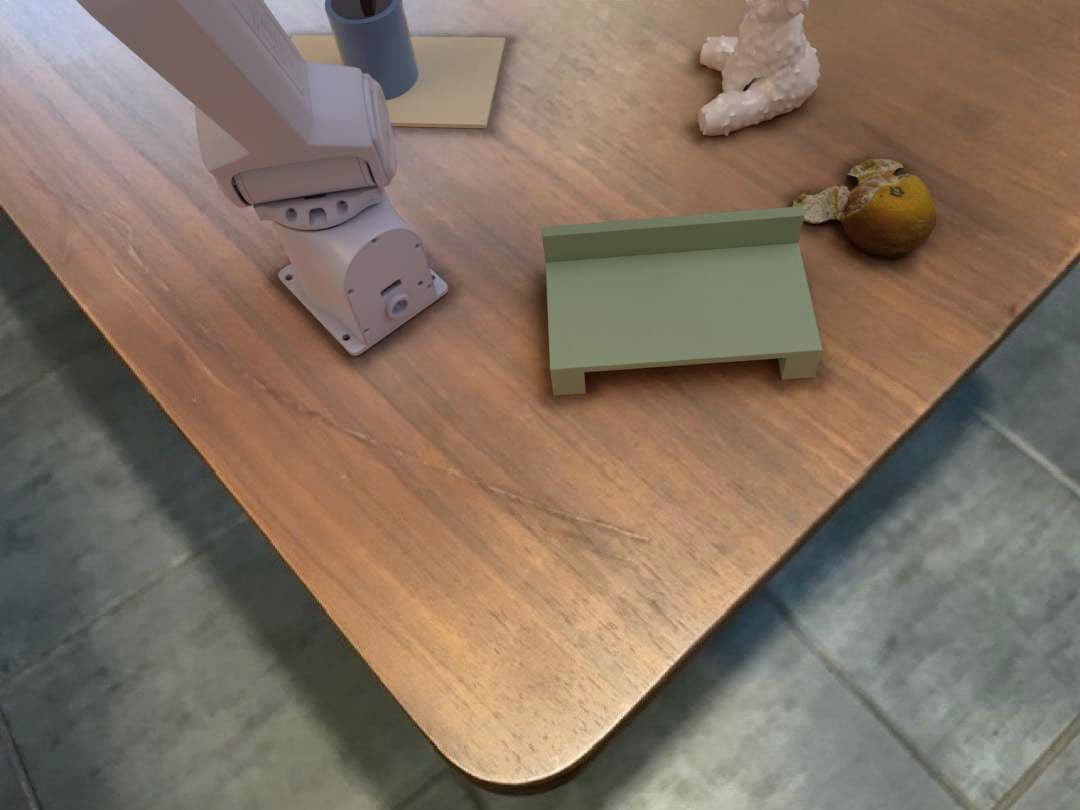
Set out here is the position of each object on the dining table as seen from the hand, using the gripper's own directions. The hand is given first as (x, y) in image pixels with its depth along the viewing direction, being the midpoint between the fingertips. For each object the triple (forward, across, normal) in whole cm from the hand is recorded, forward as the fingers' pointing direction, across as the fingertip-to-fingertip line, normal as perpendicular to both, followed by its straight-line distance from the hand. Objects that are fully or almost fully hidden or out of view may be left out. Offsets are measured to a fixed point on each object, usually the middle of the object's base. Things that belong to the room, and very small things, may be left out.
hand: (314, 12), depth 65 cm
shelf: (+10, -22, +21) cm, 32 cm away
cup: (+10, -2, -5) cm, 12 cm away
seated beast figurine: (+10, -31, 0) cm, 32 cm away
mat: (+10, -2, -5) cm, 12 cm away
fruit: (+10, -36, +12) cm, 40 cm away
